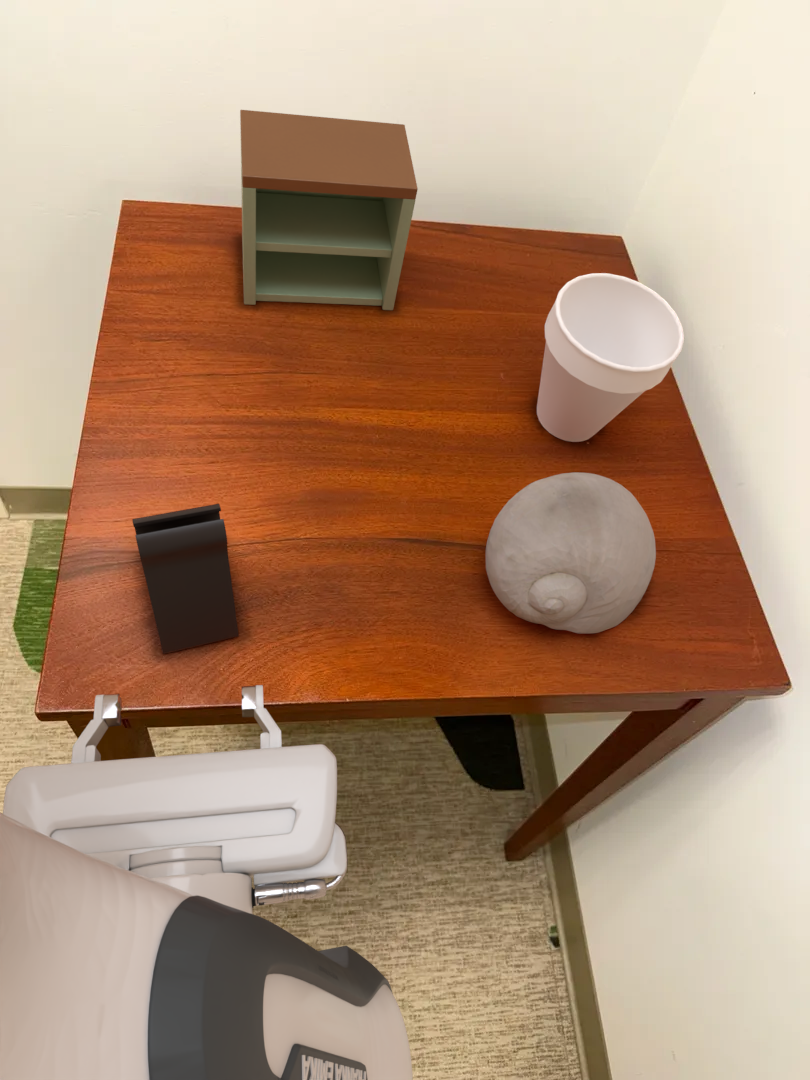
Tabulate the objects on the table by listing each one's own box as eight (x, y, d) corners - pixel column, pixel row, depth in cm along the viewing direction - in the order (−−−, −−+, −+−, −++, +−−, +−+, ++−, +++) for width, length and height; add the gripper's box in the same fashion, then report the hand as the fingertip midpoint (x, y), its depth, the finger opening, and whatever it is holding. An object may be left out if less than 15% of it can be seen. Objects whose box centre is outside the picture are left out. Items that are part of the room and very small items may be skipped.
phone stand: (238, 638, 62) (236, 568, 52) (162, 655, 60) (144, 587, 50) (216, 544, 66) (209, 462, 56) (144, 557, 64) (123, 475, 54)
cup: (620, 476, 77) (685, 386, 66) (504, 445, 77) (548, 348, 65) (626, 389, 84) (685, 292, 72) (518, 359, 83) (561, 257, 72)
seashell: (466, 581, 76) (462, 601, 61) (520, 450, 75) (530, 438, 60) (609, 641, 75) (640, 675, 60) (667, 509, 74) (713, 511, 59)
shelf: (244, 304, 81) (242, 175, 68) (242, 240, 85) (240, 109, 73) (393, 310, 84) (418, 188, 71) (383, 248, 89) (404, 124, 76)
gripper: (356, 888, 45) (337, 667, 52) (-24, 933, 41) (10, 685, 48) (345, 899, 50) (329, 697, 57) (9, 940, 46) (34, 716, 53)
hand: (182, 692), depth 52 cm, fingers open, 8 cm apart
